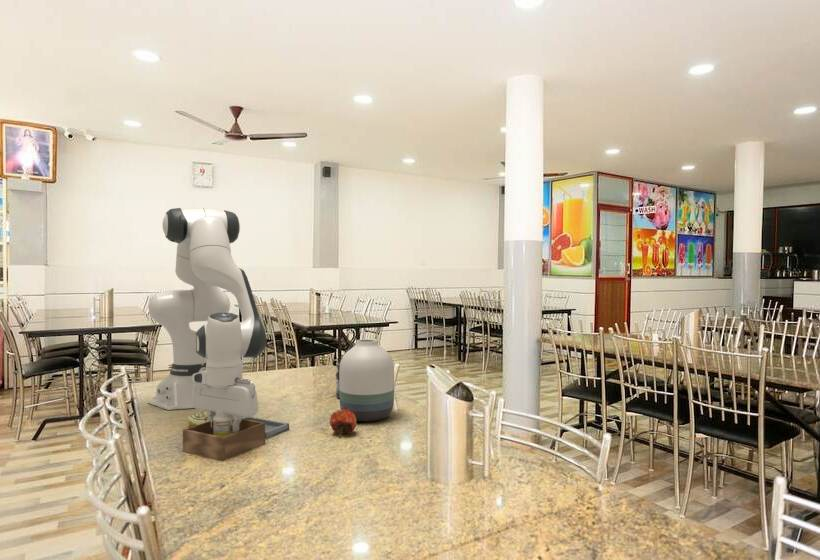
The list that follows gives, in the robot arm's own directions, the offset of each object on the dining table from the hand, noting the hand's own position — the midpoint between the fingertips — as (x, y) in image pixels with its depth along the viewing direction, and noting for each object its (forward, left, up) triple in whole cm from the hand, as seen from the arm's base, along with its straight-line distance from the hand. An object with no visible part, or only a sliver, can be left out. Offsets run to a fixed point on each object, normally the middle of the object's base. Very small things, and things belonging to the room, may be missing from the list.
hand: (224, 429), depth 134 cm
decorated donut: (-19, +11, -5) cm, 23 cm away
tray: (-3, +14, -5) cm, 15 cm away
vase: (+18, +40, -5) cm, 44 cm away
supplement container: (-1, +59, -5) cm, 59 cm away
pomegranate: (+21, +23, -5) cm, 32 cm away
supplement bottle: (0, 0, -5) cm, 5 cm away
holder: (0, 0, -5) cm, 5 cm away
